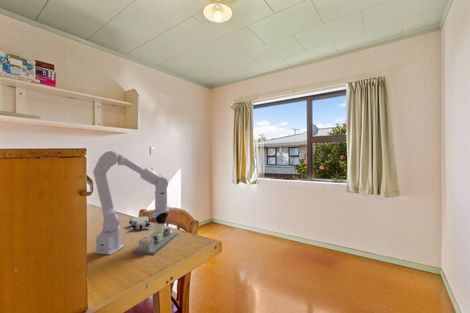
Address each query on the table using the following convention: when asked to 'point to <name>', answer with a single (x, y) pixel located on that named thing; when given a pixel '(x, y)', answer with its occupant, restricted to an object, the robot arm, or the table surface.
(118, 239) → the robot arm
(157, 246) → the board
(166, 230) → the dark grey bar
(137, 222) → the robot toy
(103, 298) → the table surface
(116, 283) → the table surface
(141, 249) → the connector
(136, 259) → the table surface
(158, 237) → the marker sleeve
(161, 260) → the table surface
